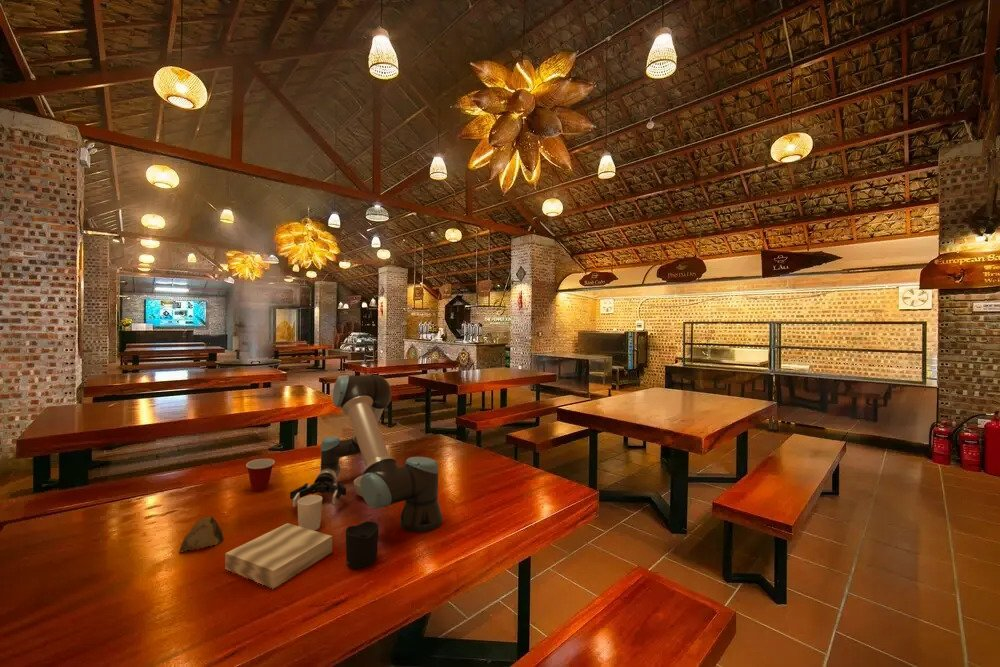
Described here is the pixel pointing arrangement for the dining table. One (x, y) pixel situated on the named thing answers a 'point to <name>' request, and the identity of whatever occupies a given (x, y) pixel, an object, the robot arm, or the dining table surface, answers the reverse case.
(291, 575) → the birch plinth
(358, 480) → the cereal bowl
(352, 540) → the pen holder
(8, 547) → the dining table surface
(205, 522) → the rock
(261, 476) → the plastic cup
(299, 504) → the white cup
